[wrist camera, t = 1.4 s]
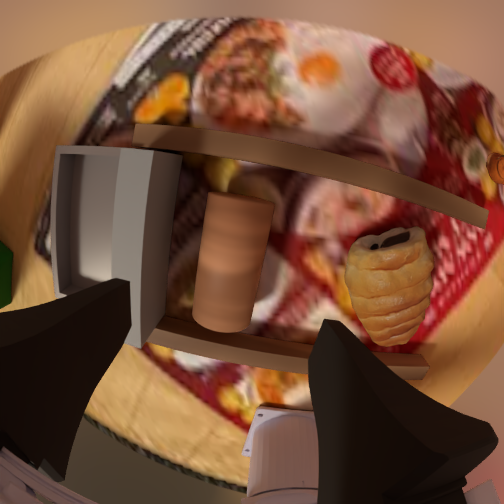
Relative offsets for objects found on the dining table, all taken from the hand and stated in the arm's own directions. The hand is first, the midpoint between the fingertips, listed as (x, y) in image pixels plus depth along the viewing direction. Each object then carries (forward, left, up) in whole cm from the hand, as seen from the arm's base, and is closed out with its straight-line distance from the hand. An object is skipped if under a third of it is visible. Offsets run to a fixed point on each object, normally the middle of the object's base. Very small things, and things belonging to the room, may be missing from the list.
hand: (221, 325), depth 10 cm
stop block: (0, +6, -10) cm, 12 cm away
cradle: (0, +11, -10) cm, 15 cm away
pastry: (0, -11, -10) cm, 15 cm away
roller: (0, 0, -10) cm, 10 cm away
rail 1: (+7, -5, -10) cm, 13 cm away
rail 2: (-7, -5, -10) cm, 13 cm away
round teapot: (+12, -20, -10) cm, 25 cm away
